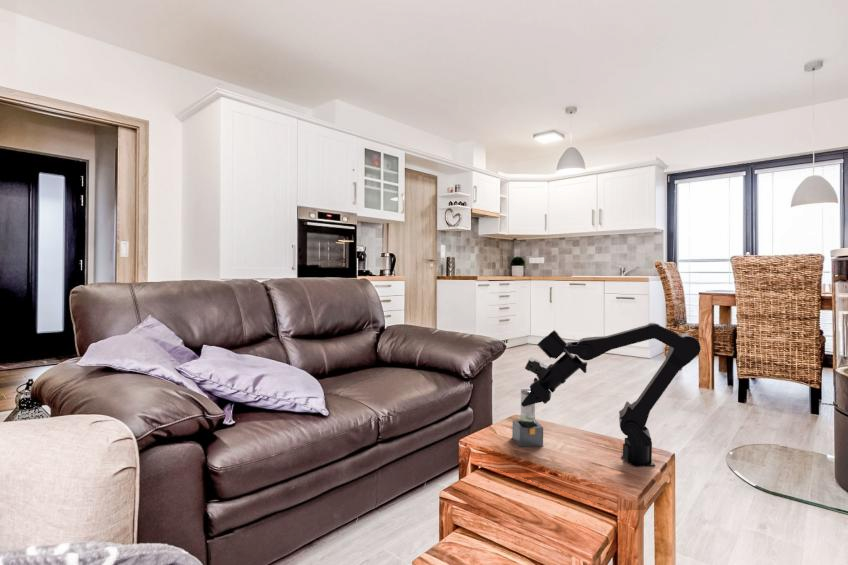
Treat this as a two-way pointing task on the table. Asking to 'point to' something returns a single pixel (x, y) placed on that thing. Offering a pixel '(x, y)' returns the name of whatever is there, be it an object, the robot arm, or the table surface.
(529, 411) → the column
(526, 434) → the stand collar
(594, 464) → the table surface
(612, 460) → the table surface
